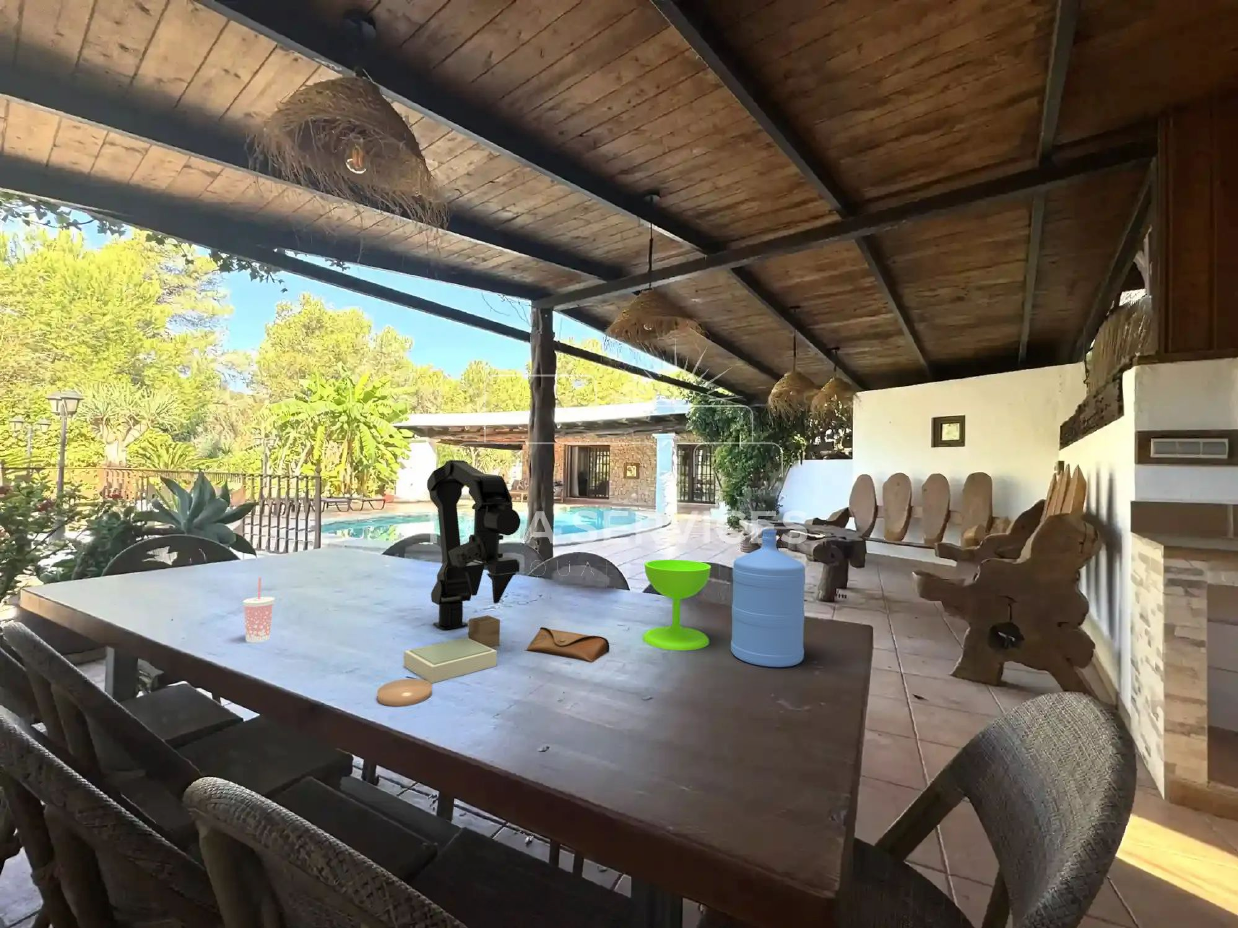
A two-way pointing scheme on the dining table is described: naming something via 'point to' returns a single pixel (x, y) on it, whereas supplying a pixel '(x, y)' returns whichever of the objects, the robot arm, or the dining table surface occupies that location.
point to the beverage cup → (258, 617)
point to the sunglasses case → (569, 645)
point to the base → (449, 659)
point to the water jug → (768, 606)
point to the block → (485, 630)
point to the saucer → (404, 692)
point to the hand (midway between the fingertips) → (484, 599)
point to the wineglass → (676, 601)
